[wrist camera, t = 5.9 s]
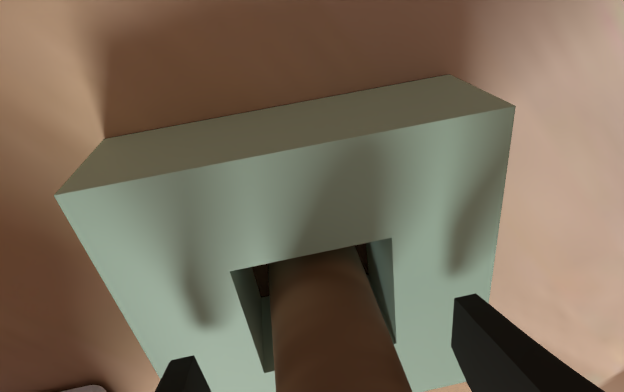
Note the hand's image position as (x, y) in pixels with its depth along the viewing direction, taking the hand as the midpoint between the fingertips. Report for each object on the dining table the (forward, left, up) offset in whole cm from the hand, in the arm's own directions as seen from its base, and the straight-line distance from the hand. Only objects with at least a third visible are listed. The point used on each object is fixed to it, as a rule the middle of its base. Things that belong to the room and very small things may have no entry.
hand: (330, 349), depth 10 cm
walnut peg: (0, 0, -5) cm, 5 cm away
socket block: (0, 0, -5) cm, 5 cm away
